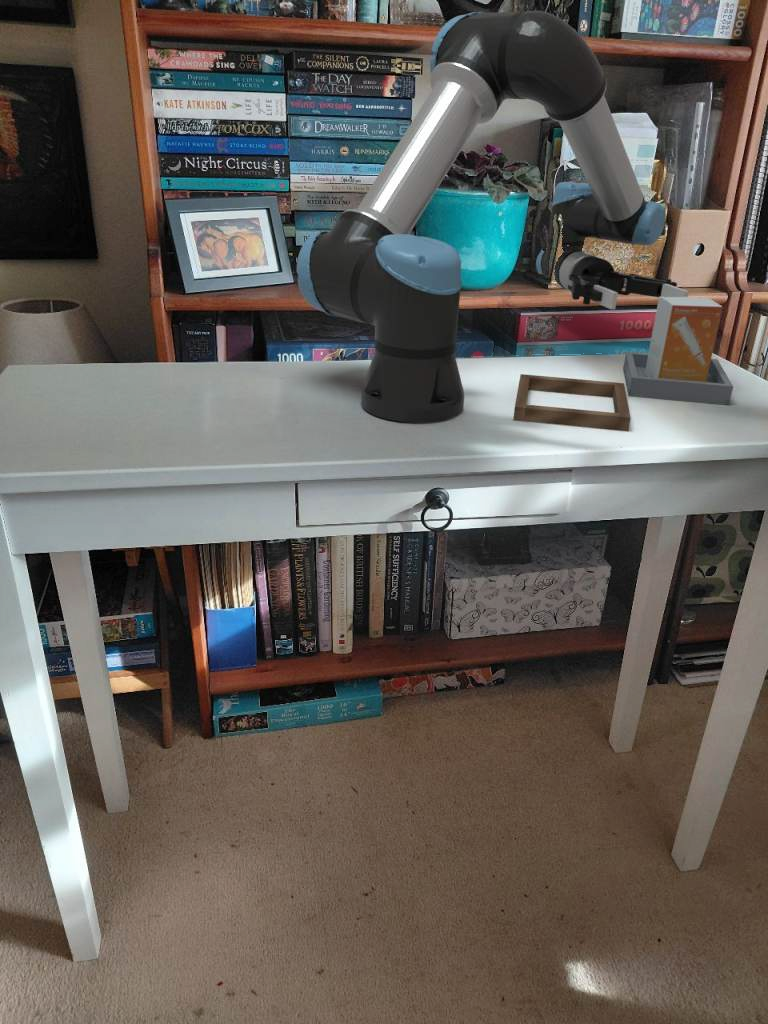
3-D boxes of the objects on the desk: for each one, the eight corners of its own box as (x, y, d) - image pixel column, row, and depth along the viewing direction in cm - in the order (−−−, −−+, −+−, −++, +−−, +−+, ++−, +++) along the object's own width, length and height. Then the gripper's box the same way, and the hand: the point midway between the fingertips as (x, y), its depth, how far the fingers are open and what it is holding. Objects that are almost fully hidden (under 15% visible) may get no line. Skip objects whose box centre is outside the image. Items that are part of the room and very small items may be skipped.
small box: (656, 386, 131) (671, 304, 125) (643, 374, 136) (658, 295, 131) (706, 387, 131) (724, 305, 125) (691, 375, 137) (708, 296, 131)
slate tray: (628, 396, 129) (631, 377, 127) (623, 368, 142) (625, 351, 141) (728, 405, 126) (733, 386, 125) (713, 376, 139) (717, 359, 138)
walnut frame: (513, 420, 117) (514, 406, 117) (519, 386, 132) (520, 374, 131) (628, 431, 115) (630, 417, 114) (621, 395, 129) (623, 383, 128)
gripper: (641, 295, 160) (709, 320, 142) (525, 297, 154) (580, 324, 136) (648, 255, 157) (718, 276, 139) (529, 256, 150) (587, 278, 132)
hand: (650, 300), depth 137 cm, fingers open, 13 cm apart
